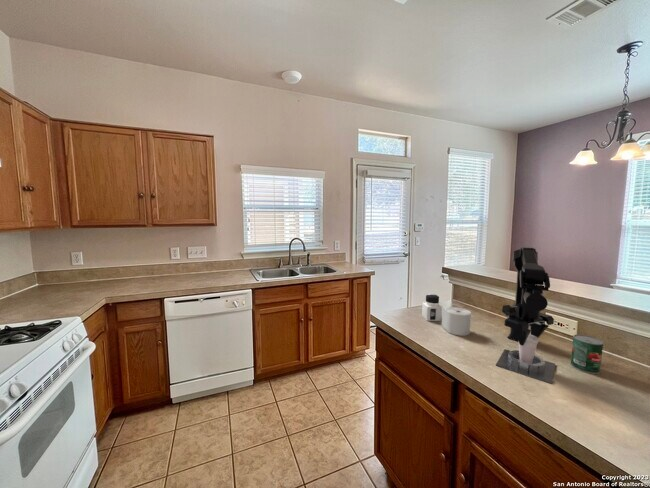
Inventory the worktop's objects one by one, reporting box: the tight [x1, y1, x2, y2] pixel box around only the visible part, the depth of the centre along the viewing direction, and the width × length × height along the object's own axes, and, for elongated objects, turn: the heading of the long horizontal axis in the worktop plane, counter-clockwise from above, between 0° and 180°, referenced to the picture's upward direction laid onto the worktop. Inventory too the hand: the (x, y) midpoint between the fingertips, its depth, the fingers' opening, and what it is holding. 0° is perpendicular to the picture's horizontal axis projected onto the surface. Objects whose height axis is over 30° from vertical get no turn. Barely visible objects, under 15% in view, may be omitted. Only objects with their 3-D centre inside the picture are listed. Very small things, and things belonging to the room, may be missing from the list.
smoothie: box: [517, 326, 540, 363], centre depth 100 cm, size 6×6×14 cm
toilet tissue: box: [441, 306, 472, 337], centre depth 130 cm, size 11×12×10 cm
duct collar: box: [495, 348, 556, 385], centre depth 100 cm, size 16×16×3 cm
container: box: [421, 293, 443, 322], centre depth 146 cm, size 8×8×13 cm
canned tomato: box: [569, 334, 604, 375], centre depth 98 cm, size 8×8×11 cm
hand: (527, 343), depth 100 cm, fingers closed on smoothie, 6 cm apart
